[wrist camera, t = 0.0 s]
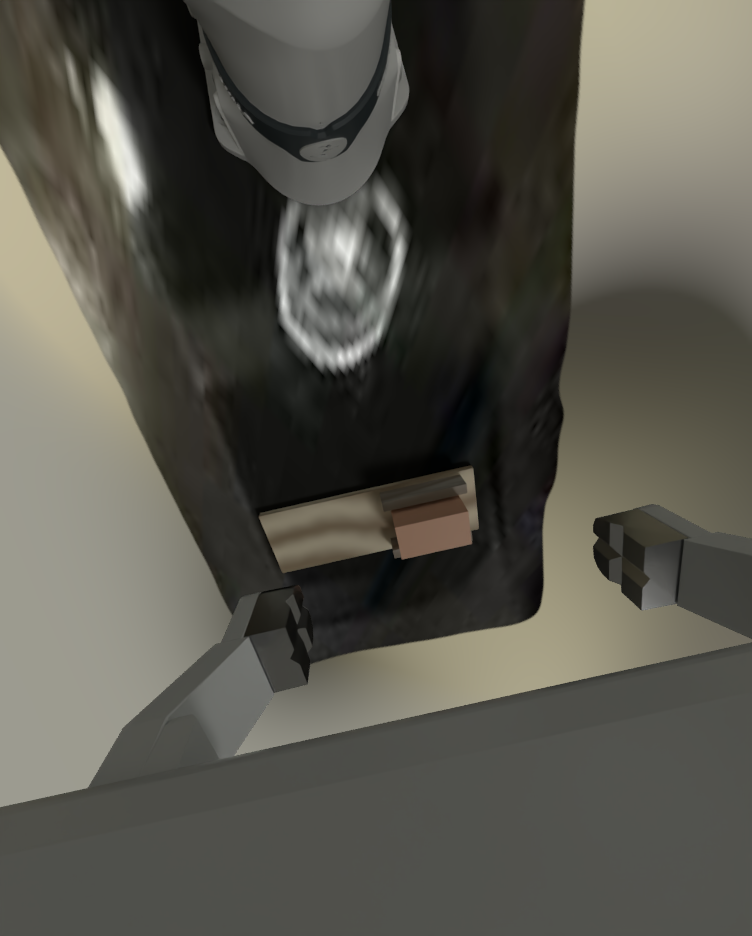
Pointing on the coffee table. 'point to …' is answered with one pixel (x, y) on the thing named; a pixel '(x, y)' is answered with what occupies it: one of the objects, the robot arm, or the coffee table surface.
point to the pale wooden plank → (358, 519)
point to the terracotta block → (432, 526)
